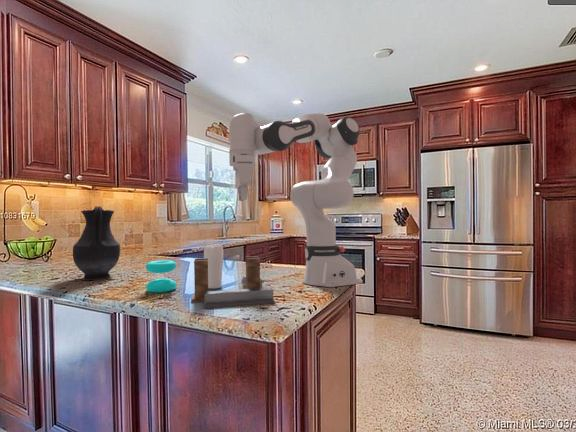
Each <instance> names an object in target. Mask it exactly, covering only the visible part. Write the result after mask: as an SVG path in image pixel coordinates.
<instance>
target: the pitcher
mask: <svg viewBox="0 0 576 432" xmlns="http://www.w3.org/2000/svg"><path fill="white" fill-rule="evenodd" d="M81 214H82V215H83V216H84V219H85V225H84V228H83V230H82V234H81V236H80V237H79V238H78V240H77V242H76V243H75V244H74V245H72V259H73V261H74V264H75V266H76V268H77V269H78V270H80V271H81V272H82V273H83V274H84V277H83V279H84V280H87V281H90V280H92V281H95V280H103V279H108V278H110V277H111V275H110V273H109V272H110V271H111V270H112V269H113V268H114V267H116V265H117V263H118V261H119V259H120V256H121V245H120V243H119V242H118V241H117V240H116V239H115V237H114V236H113V235H114V234H113V233H112V230H111V220H112V216H113V215H114V214H115V210H111V209H105V210H104V209H103V207H102V206H97V205H95V206H94V208H93V209H87V210H85V209H84V210H81Z"/></svg>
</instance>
